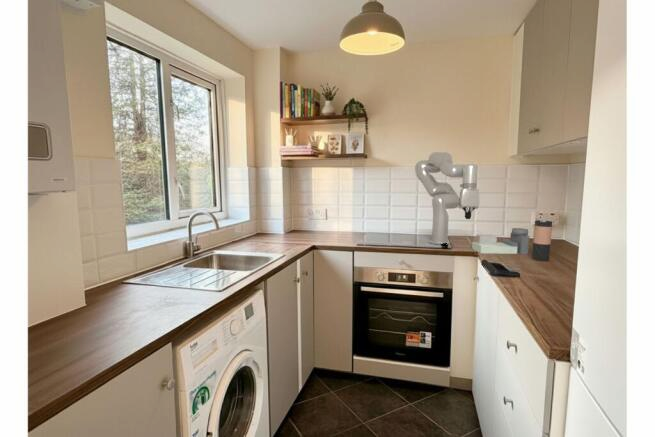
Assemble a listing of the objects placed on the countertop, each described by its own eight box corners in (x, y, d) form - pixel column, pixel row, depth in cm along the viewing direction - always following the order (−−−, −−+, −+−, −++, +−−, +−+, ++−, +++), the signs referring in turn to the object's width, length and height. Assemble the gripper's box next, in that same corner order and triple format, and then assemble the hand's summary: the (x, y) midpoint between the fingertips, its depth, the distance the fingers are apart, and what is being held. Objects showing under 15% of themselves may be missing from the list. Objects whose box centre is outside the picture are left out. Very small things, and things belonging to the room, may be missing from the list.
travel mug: (540, 261, 168) (544, 222, 166) (528, 258, 176) (531, 220, 173) (552, 260, 170) (556, 221, 168) (539, 257, 178) (542, 220, 175)
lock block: (476, 242, 196) (476, 234, 195) (492, 243, 194) (493, 235, 193) (479, 244, 190) (479, 236, 189) (496, 245, 188) (496, 236, 188)
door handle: (514, 262, 158) (478, 258, 161) (531, 274, 139) (490, 269, 142) (513, 269, 159) (477, 265, 162) (530, 281, 139) (489, 277, 142)
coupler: (472, 248, 198) (473, 227, 197) (519, 249, 198) (521, 227, 196) (480, 253, 186) (482, 230, 185) (531, 253, 186) (533, 230, 184)
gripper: (458, 186, 184) (457, 219, 187) (485, 186, 184) (484, 219, 186) (453, 186, 192) (452, 218, 194) (480, 186, 192) (478, 218, 194)
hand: (467, 218), depth 190 cm, fingers closed
